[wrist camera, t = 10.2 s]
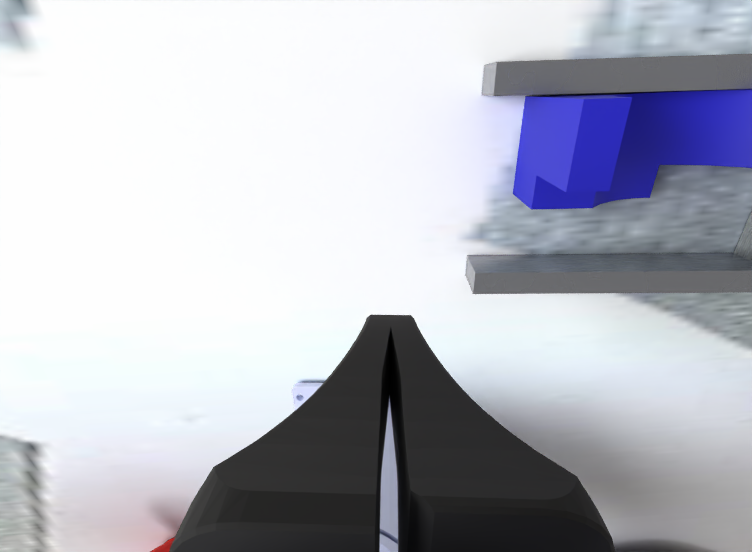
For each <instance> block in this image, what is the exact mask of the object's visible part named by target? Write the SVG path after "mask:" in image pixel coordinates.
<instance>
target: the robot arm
mask: <svg viewBox="0 0 752 552" xmlns="http://www.w3.org/2000/svg"><path fill="white" fill-rule="evenodd" d="M299 395H302V396H299ZM292 396H293V402H294V408H295V411H294V412H293V413H292V414H291V415H290V416H288V417H287V418H286V419H285V420H283V421H282V422H281V423H279V424H278V425H277V426H276V427H274V428H273V429H272V430H270V431H269V432H268V433H266V434H265V435H264V436H262V437H261V438H260V439H258V440H257V441H255V442H254V443H252V444H251V445H249V446H247V447H246V448H244V449H243V450H241V451H239V452H238V453H236V454H234V455H233V456H231V457H230V458H228V459H226V460H225V461H223V462H221V463H220V464H218V465H216V466H215V467H213V469H212V471H211V472H210V474H209V475H208V477H207V479H206V480H205V482H204V484H203V485H202V487H201V488H200V490H199V491H198V493H197V495H196V496H195V498H194V500H193V502H192V503H191V505H190V507H189V509H188V512H187V514H186V516H185V518H184V520H183V522H182V524H181V526H180V528H179V530H178V532H177V534H176V536H175V538H174V541H173V543H172V545H171V547H170V551H169V552H615V549H614V545H613V541H612V537H611V535H610V533H609V531H608V529H607V527H606V525H605V523H604V521H603V519H602V517H601V515H600V513H599V512H598V510H597V508H596V506H595V505H594V503H593V501H592V500H591V498H590V497H589V495H588V493H587V492H586V490H585V489H584V487H583V486H582V484H581V482H580V481H579V479H578V477H577V476H575V475H574V474H572V473H570V472H569V471H567V470H566V469H564V468H562V467H561V466H559V465H558V464H556V463H554V462H553V461H551V460H550V459H548V458H547V457H545V456H543V455H542V454H540V453H539V452H537V451H536V450H534V449H533V448H531V447H530V446H528V445H527V444H526V443H524V442H523V441H521V440H520V439H519V438H517V437H516V436H515V435H513V434H512V433H511V432H509V431H508V430H507V429H505V428H504V427H503V426H502V425H501V424H499V423H498V422H497V421H496V420H495V419H493V418H492V417H491V416H490V415H489V414H488V413H486V412H485V411H484V410H483V409H482V408H481V407H480V406H479V405H478V404H477V403H475V402H474V401H473V400H472V399H471V398H470V397H469V396H468V394H467V393H466V392H465V391H464V390H463V389H462V388H461V387H460V386H459V385H458V384H457V383H456V381H455V380H454V379H453V378H452V377H451V376H450V374H449V373H448V372H447V371H446V369H445V368H444V367H443V365H442V364H441V363H440V361H439V360H438V359H437V357H436V356H435V354H434V353H433V351H432V350H431V348H430V347H429V346H428V344H427V342H426V341H425V339H424V337H423V336H422V334H421V332H420V330H419V328H418V327H417V324H416V322H415V320H414V318H413V317H412V316H411V315H370V316H369V317H368V318H367V319H366V322H365V324H364V326H363V328H362V330H361V332H360V334H359V336H358V337H357V339H356V341H355V342H354V344H353V345H352V347H351V348H350V350H349V351H348V353H347V354H346V356H345V357H344V358H343V360H342V361H341V362H340V364H339V365H338V366H337V367H336V369H335V370H334V371H333V373H332V374H331V375H330V376H329V377H328V378H327V380H326V381H325V382H324V383H296V384H294V386H293V388H292Z"/></svg>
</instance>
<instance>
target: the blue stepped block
mask: <svg viewBox="0 0 752 552" xmlns="http://www.w3.org/2000/svg"><path fill="white" fill-rule="evenodd" d="M659 165H711V166H731V167H746V168H752V89H723V90H688V91H660V92H633V93H605V94H577V95H550V96H525V104H524V112H523V119H522V127H521V135H520V143H519V150H518V158H517V166H516V173H515V181H514V189H513V194H514V195H515V196H516V197H517V198H519V199H520V200H521V201H522V202H523V203H524V204H526V205H527V206H528V207H529V208H530V209H572V208H593V207H595V206H597V205H600V204H602V203H606V202H610V201H615V200H622V199H631V198H650V195H651V192H652V188H653V185H654V181H655V178H656V175H657V171H658V168H659Z"/></svg>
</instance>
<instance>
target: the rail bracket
mask: <svg viewBox="0 0 752 552" xmlns="http://www.w3.org/2000/svg"><path fill="white" fill-rule="evenodd" d="M723 89H752V54H733V55H701V56H670V57H638V58H606V59H575V60H543V61H512V62H495V63H491V64H487V65H484V74H483V85H482V95H487V96H508V95H544V94H580V93H616V92H652V91H688V90H723ZM466 277H467V280H468V282H469V285H470V287H471V290H472V292H473V294H524V293H699V292H752V212H751V214H750V216H749V218H748V221H747V223H746V225H745V228H744V230H743V232H742V235H741V237H740V239H739V242H738V244H737V246H736V249H735V251H734V253H666V254H566V255H467V263H466Z"/></svg>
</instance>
